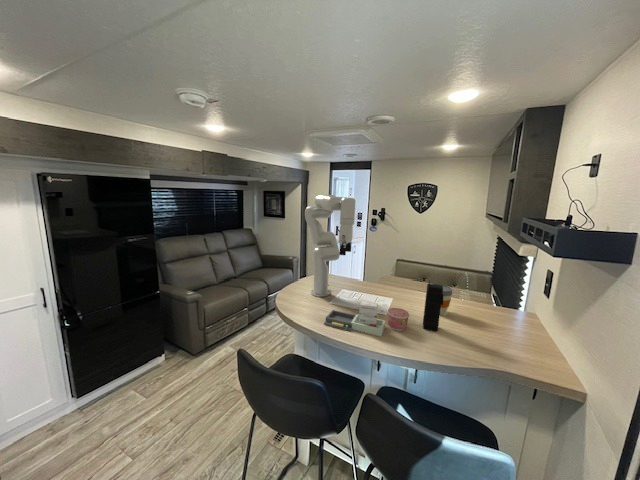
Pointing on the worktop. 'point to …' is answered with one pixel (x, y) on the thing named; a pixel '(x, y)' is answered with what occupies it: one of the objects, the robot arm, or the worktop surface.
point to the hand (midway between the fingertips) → (345, 253)
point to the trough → (368, 329)
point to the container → (397, 318)
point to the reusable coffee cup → (445, 298)
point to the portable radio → (432, 306)
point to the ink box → (368, 313)
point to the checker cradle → (339, 320)
